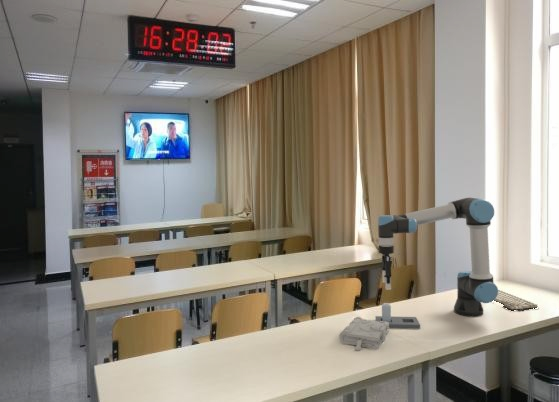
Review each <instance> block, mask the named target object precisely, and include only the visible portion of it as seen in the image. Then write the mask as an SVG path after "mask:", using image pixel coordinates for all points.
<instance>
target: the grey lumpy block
mask: <svg viewBox="0 0 559 402" xmlns="http://www.w3.org/2000/svg"><path fill="white" fill-rule="evenodd" d="M389 329H390V328H389V322H385V321H376V320H371V319H366V318H362V317H360V316H356V317H355V318H354V319H353V320H352V321H350V323H349V324H348V326H346V327H344V329H343V330H342V331H340V333H339V335H338V338H339V341H340V343H341V344H343V345H352V346H355V348H354V351H359V350H361V347H362V348H367V349H370V350H379V348H380V346H381V344H383V342H384V343H385V341H386V336H387V335H389V333H390V330H389Z"/></svg>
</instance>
